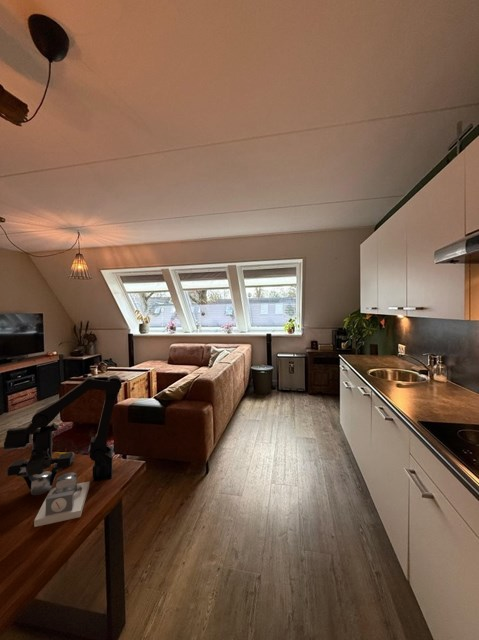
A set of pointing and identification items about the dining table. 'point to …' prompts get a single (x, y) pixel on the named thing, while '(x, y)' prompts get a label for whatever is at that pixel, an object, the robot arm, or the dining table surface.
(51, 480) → the robot arm
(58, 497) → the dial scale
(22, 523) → the dining table surface
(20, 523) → the dining table surface
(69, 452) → the yellow spiral cone
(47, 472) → the silver flared knob
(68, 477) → the silver round piece
